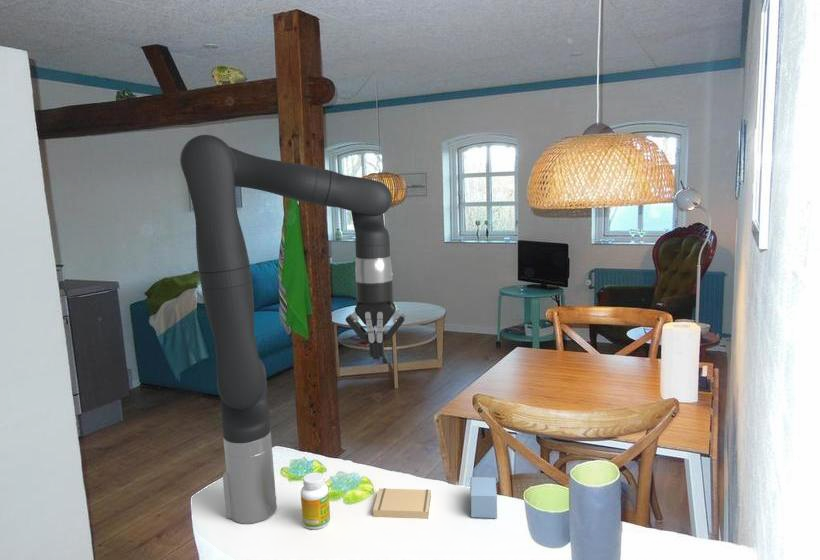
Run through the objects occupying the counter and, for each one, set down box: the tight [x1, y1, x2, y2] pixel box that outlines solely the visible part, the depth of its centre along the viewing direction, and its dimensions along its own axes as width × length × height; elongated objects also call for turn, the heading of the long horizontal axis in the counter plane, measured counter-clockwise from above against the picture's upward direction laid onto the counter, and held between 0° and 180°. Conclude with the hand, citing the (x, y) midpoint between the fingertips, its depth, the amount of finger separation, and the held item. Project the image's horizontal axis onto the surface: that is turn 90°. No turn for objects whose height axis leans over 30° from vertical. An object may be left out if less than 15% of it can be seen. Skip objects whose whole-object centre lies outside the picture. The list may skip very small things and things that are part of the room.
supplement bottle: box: [300, 471, 331, 530], centre depth 117 cm, size 5×5×10 cm
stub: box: [469, 476, 498, 519], centre depth 120 cm, size 5×7×5 cm
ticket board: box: [372, 487, 432, 519], centre depth 122 cm, size 11×8×2 cm
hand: (377, 358), depth 126 cm, fingers closed
